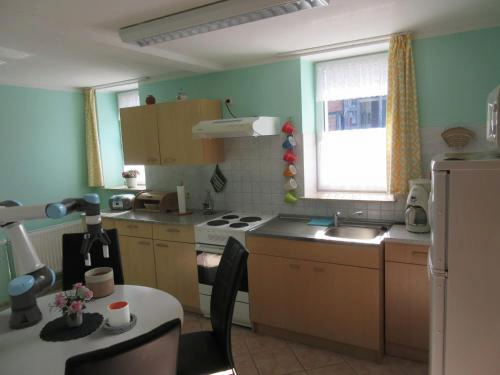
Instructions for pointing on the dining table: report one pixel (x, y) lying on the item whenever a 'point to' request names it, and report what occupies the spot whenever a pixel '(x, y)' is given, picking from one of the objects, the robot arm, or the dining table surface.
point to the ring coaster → (115, 330)
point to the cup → (118, 314)
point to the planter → (100, 281)
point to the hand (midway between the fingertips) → (97, 261)
